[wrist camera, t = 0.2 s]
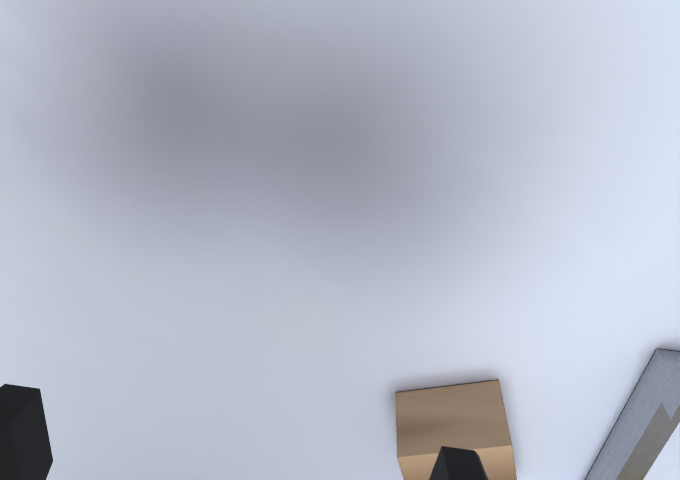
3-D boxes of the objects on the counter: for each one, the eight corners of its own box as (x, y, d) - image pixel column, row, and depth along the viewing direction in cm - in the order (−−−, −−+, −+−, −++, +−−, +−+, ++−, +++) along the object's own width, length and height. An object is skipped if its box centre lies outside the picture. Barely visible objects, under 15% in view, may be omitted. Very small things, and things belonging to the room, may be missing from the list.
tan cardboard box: (512, 475, 27) (525, 541, 25) (421, 484, 28) (425, 549, 26) (498, 379, 24) (511, 445, 22) (395, 392, 25) (397, 457, 22)
